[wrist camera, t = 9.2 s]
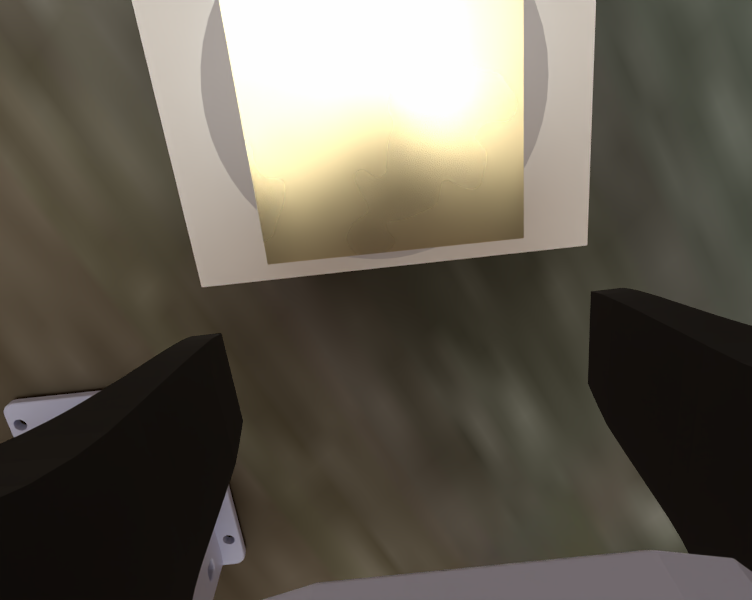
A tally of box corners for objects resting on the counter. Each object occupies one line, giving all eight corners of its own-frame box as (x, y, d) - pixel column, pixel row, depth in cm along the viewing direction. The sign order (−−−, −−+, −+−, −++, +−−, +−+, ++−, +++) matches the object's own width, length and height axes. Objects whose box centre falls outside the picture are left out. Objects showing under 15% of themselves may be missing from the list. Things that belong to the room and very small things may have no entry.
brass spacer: (465, 170, 18) (523, 237, 11) (302, 188, 18) (267, 264, 11) (457, -14, 16) (523, -61, 9) (274, 6, 16) (213, -27, 9)
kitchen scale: (567, 228, 21) (626, 279, 16) (215, 267, 21) (172, 328, 17) (579, -319, 15) (677, -489, 11) (95, -255, 16) (-24, -392, 11)
